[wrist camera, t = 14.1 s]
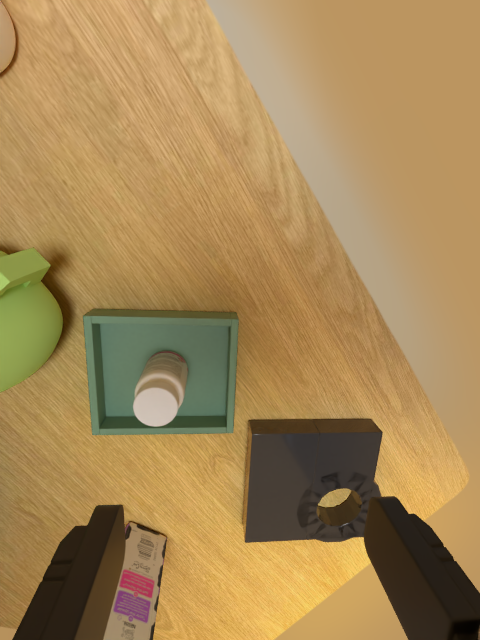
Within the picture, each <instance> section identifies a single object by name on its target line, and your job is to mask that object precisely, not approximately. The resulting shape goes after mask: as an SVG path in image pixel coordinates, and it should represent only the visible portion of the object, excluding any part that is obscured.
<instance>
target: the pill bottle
mask: <svg viewBox="0 0 480 640" xmlns="http://www.w3.org/2000/svg"><path fill="white" fill-rule="evenodd" d="M187 375H188V367H187V364H186V362H185V360H184V359H183V357H181V356H180V355H179V354H177V353H175V352H172V351H161V352H158V353H156V354H154V355H153V356H151V357H150V359H149V360H148V362H147V364H146V366H145V368H144V370H143V372H142V374H141V377H140V379H139V381H138V383H137V385H136V388H135V400H134V403H133V410H134V413H135V415H136V417H137V418H138V420H139V421H141V422H142V423H144V424H146V425H148V426H154V427H158V426H163V425H166V424H168V423H169V422H171V421H172V420H173V419H174V417H175V416H176V414H177V411H178V408H179V407H180V406H181V404H182V402H183V399H184V395H185V388H186V381H187Z"/></svg>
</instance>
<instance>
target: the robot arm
mask: <svg viewBox="0 0 480 640" xmlns="http://www.w3.org/2000/svg"><path fill="white" fill-rule="evenodd" d="M364 543H365V548H366V551H367V554H368V556H369V559H370V561H371V563H372V565H373V567H374V569H375V571H376V573H377V575H378V577H379V579H380V581H381V583H382V586H383V588H384V590H385V592H386V594H387V596H388V598H389V600H390V602H391V604H392V606H393V609H394V611H395V613H396V615H397V617H398V619H399V621H400V623H401V625H402V627H403V629H404V631H405V633H406V636H407V638H408V640H480V593H479V592H478V590H477V589H476V588H475V586H474V585H473V584H472V582H471V581H470V580H469V578H468V577H467V576H466V574H465V573H464V571H463V570H462V569H461V567H460V566H459V565H458V563H457V562H456V561H454V559H453V556H452V555H451V554H450V553H449V551H448V550H447V548H446V547H444V546H443V543H442V542H441V540H440V539H439V538H438V536H437V535H436V534H435V533H434V531H433V530H432V528H431V527H430V526H429V525H427V524H426V523H425V522H424V521H423V520H421V519H420V518H419V517H418V516H417V515H415V514H408V512H407V511H406V510H405V508H404V507H403V505H402V504H401V502H400V501H399V500H398V499H397V498H396V497H394V496H389V497H372V498H371V499H370V501H369V506H368V512H367V518H366V524H365V530H364ZM125 549H126V539H125V524H124V510H123V505H98V506H96V508H95V509H94V512H93V514H92V516H91V519H90V521H89V523H88V526H75V527H74V528H73V529H72V530H71V531H70V532H69V534H68V535H67V536H66V537H65V538H64V539H63V540H62V541H61V542H60V544H59V546H58V548H57V550H56V552H55V554H54V556H53V558H52V560H51V564H50V565H49V566H48V568H47V570H46V572H45V574H44V576H43V580H42V582H41V583H40V585H39V587H38V589H37V591H36V593H35V595H34V597H33V599H32V601H31V603H30V605H29V607H28V609H27V611H26V613H25V615H24V617H23V619H22V621H21V623H20V625H19V627H18V629H17V631H16V633H15V635H14V638H13V639H12V640H103V639H104V635H105V631H106V627H107V624H108V620H109V616H110V613H111V609H112V605H113V601H114V598H115V594H116V590H117V587H118V583H119V579H120V575H121V572H122V568H123V564H124V558H125Z"/></svg>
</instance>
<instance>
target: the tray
mask: <svg viewBox="0 0 480 640" xmlns="http://www.w3.org/2000/svg"><path fill="white" fill-rule="evenodd" d="M83 322H84V335H85V348H86V361H87V374H88V386H89V399H90V412H91V425H92V435H141V434H214V433H233V427H234V407H235V386H236V366H237V345H238V325H239V319H238V316H237V313H236V312H203V311H162V310H122V309H92V310H91V311H90V312H88V313H87V314H85V315H84V316H83ZM161 351H172V352H175V353H177V354H179V355H180V356H181V357H183V359H184V360H185V362H186V364H187V367H188V375H187V381H186V388H185V395H184V399H183V402H182V404H181V406H180V407H179V408H178V411H177V414H176V416H175V417H174V419H173V420H172V421H171V422H169V423H168V424H166V425H163V426H158V427H154V426H148V425H146V424H144V423H142V422H141V421H139V420H138V418H137V417H136V415H135V413H134V410H133V403H134V400H135V388H136V385H137V383H138V381H139V379H140V377H141V374H142V372H143V370H144V368H145V366H146V364H147V362H148V360H149V359H150V357H151V356H153V355H154V354H156V353H158V352H161Z"/></svg>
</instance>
